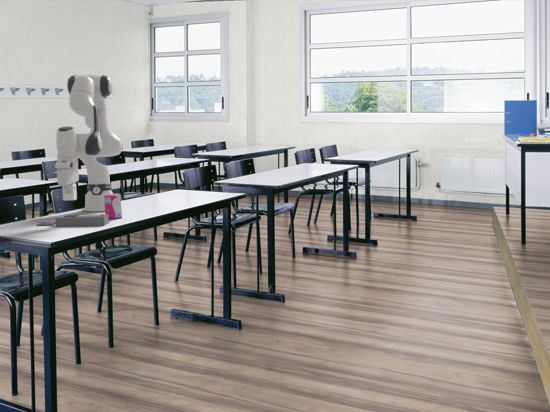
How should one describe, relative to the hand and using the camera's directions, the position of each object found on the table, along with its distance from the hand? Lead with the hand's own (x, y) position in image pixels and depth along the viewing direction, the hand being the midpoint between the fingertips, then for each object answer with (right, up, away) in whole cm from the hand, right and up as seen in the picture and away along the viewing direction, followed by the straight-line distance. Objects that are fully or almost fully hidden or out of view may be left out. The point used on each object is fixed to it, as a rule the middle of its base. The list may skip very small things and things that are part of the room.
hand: (69, 193), depth 299 cm
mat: (-12, -14, +4) cm, 19 cm away
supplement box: (+15, -12, +20) cm, 27 cm away
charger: (0, -3, 0) cm, 3 cm away
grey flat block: (+5, -14, +6) cm, 16 cm away
